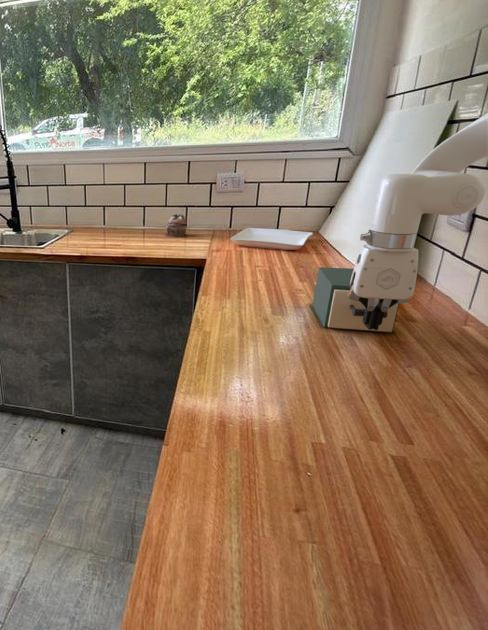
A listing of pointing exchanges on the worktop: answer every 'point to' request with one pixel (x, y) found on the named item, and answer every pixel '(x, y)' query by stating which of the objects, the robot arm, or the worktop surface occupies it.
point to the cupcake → (176, 226)
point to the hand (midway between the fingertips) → (370, 327)
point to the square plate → (271, 238)
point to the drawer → (355, 313)
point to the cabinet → (331, 291)
